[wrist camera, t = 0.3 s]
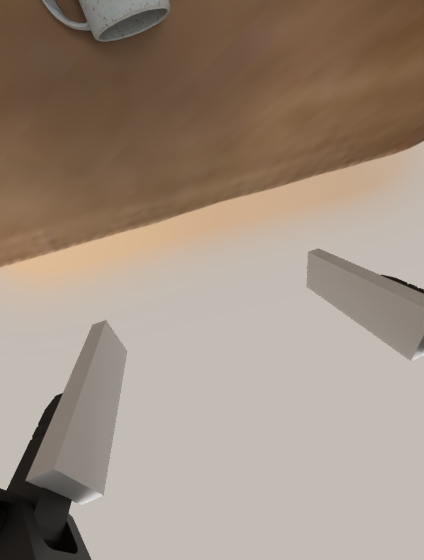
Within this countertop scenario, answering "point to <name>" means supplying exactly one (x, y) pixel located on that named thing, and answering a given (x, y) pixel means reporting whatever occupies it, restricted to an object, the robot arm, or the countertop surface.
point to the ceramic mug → (115, 16)
